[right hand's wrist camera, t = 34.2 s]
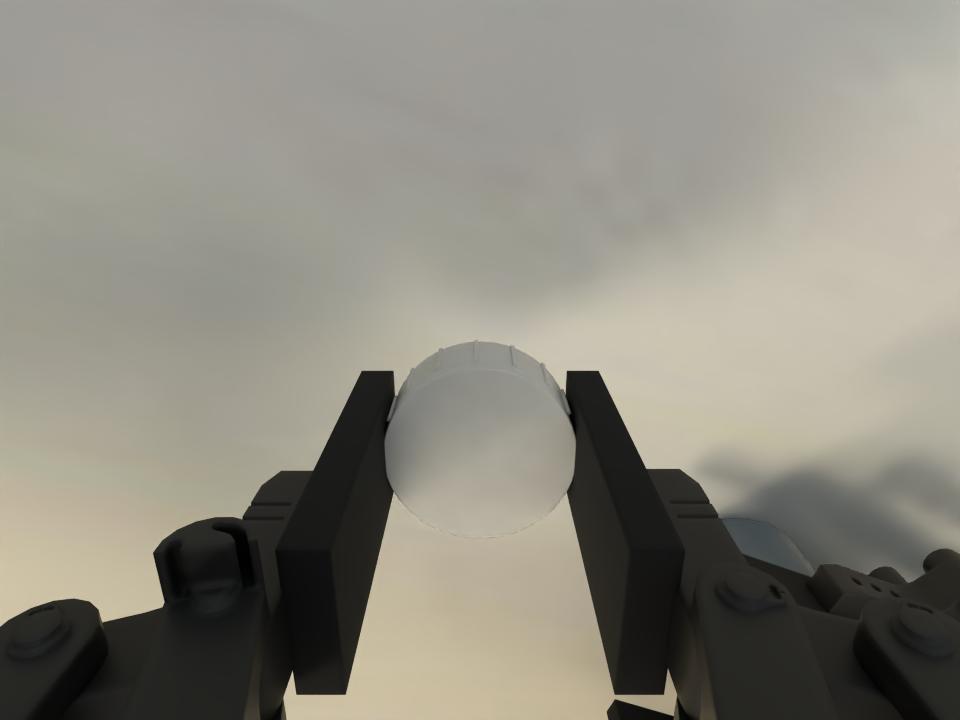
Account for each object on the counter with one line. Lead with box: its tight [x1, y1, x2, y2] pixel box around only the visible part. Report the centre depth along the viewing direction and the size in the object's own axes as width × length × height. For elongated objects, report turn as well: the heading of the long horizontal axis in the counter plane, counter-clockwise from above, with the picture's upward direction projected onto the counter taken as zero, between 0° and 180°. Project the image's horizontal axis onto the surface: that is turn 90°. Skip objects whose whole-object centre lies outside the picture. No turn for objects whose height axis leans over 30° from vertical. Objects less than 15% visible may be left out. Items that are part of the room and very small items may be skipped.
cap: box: [384, 340, 576, 538], centre depth 14 cm, size 4×4×2 cm
